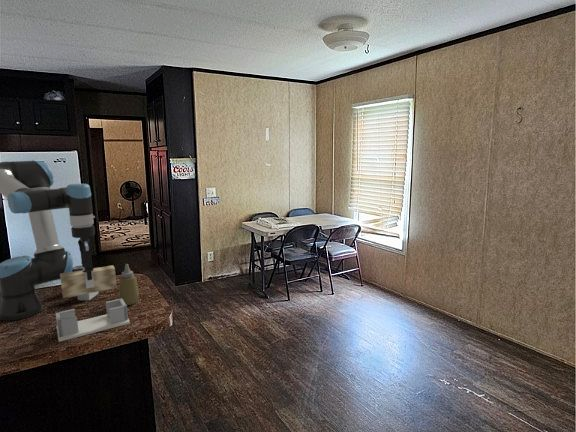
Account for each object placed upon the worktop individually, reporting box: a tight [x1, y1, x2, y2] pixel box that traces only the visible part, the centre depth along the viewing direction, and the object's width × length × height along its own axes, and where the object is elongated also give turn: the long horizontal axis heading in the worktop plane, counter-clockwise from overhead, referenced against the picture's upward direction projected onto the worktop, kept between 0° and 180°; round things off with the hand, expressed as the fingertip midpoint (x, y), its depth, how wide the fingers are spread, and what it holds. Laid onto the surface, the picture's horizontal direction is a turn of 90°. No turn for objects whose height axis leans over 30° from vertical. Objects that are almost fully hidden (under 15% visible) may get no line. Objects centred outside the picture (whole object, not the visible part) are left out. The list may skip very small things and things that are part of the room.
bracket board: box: [55, 298, 131, 343], centre depth 141 cm, size 24×12×7 cm, turn 125°
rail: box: [60, 264, 118, 299], centre depth 138 cm, size 18×4×8 cm, turn 123°
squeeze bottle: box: [119, 263, 140, 306], centre depth 161 cm, size 8×8×18 cm
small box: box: [76, 291, 99, 301], centre depth 169 cm, size 8×6×10 cm
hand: (89, 285), depth 139 cm, fingers closed on rail, 5 cm apart
